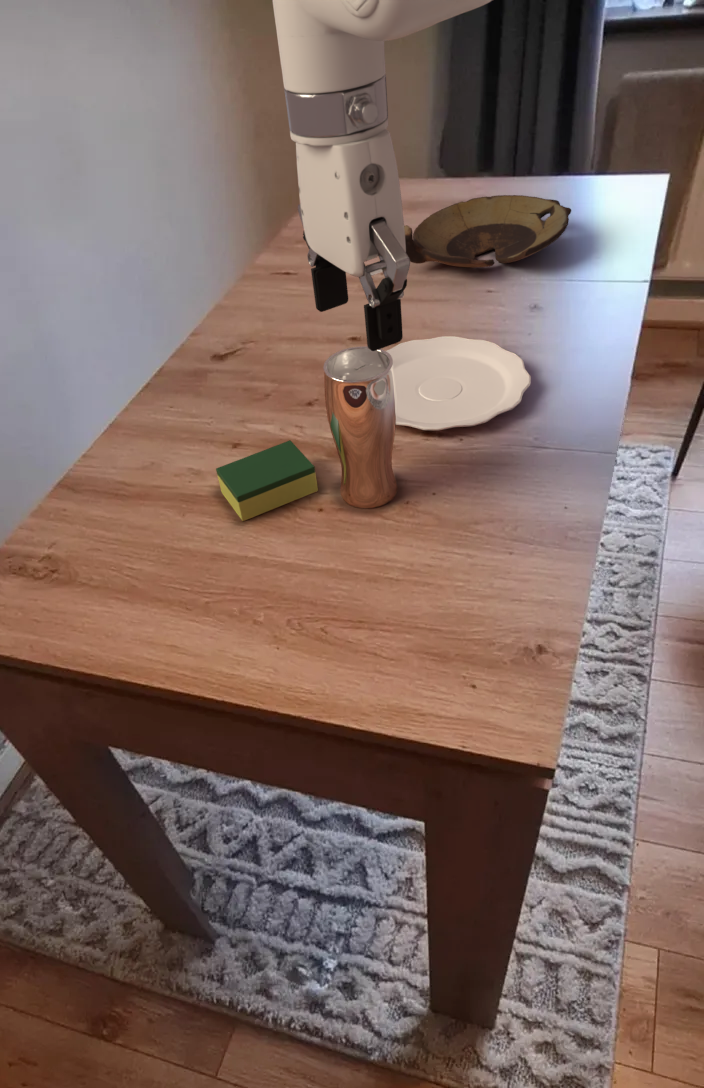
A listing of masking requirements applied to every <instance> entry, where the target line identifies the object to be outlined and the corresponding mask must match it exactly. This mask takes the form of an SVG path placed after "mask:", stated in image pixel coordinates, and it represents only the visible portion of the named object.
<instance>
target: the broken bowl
mask: <svg viewBox="0 0 704 1088" xmlns="http://www.w3.org/2000/svg"><path fill="white" fill-rule="evenodd" d="M571 213H572V209H571V208H570V207H568V206H564V205H561V203H560V201H559V200H557V199H552V198H550V199H549V198H542V197H538V196H529V195H523V194H522V195H521V194H520V195H518V194H516V195H515V194H507V195H506V194H503V195H500V194H499V195H491V196H480V197H474V198H470V199H468V200H466V201H460V202H457V203H454V204H451V205H449V206H446V207H443V208H441V209H439V210H437V211H436V212H433V213H432V214H430V215H429V216H428V217H426V218H424V219H423V220H422V221H421V222H420V223H419V224H418V225H417V226H416V227H415V228H414V230H413V229H412V227H410V226H409V225H404V230H405V244H406V254H407V255H408V257H409V259H410V263H412V264H417V265H418V264H424V263H427V262H434V263H435V262H436V263H440V264H443V265H447V266H452V267H459V268H487V267H492V266H493V265H494V264H495V260H496V261H497V262H498V263H499V264H508V263H513V262H518V261H521V260H523V259H525V258H528V257H530V256H532V255H534V254H536V253H538V252H540V251H542V250H543V249H545V248H547V247H548V246H550V245H552V244H553V243H554V242H556V241H557V240H558V239H559V238H560V237H561V236H562V235H563V234H564V233H565V231H566V230H567V228H568V227H569V226H568V225H569V223H570V222H569V221H570V219H569V216H570V215H571ZM546 215H549V216H548V217H547V218H546V219H544V220H543V219H542V218H544V217H545V216H546ZM493 250H494V254H495V260H494V258H493V259H476V257H477V256H479V255H482V254H484V253H487V252H489V251H493Z"/></svg>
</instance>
